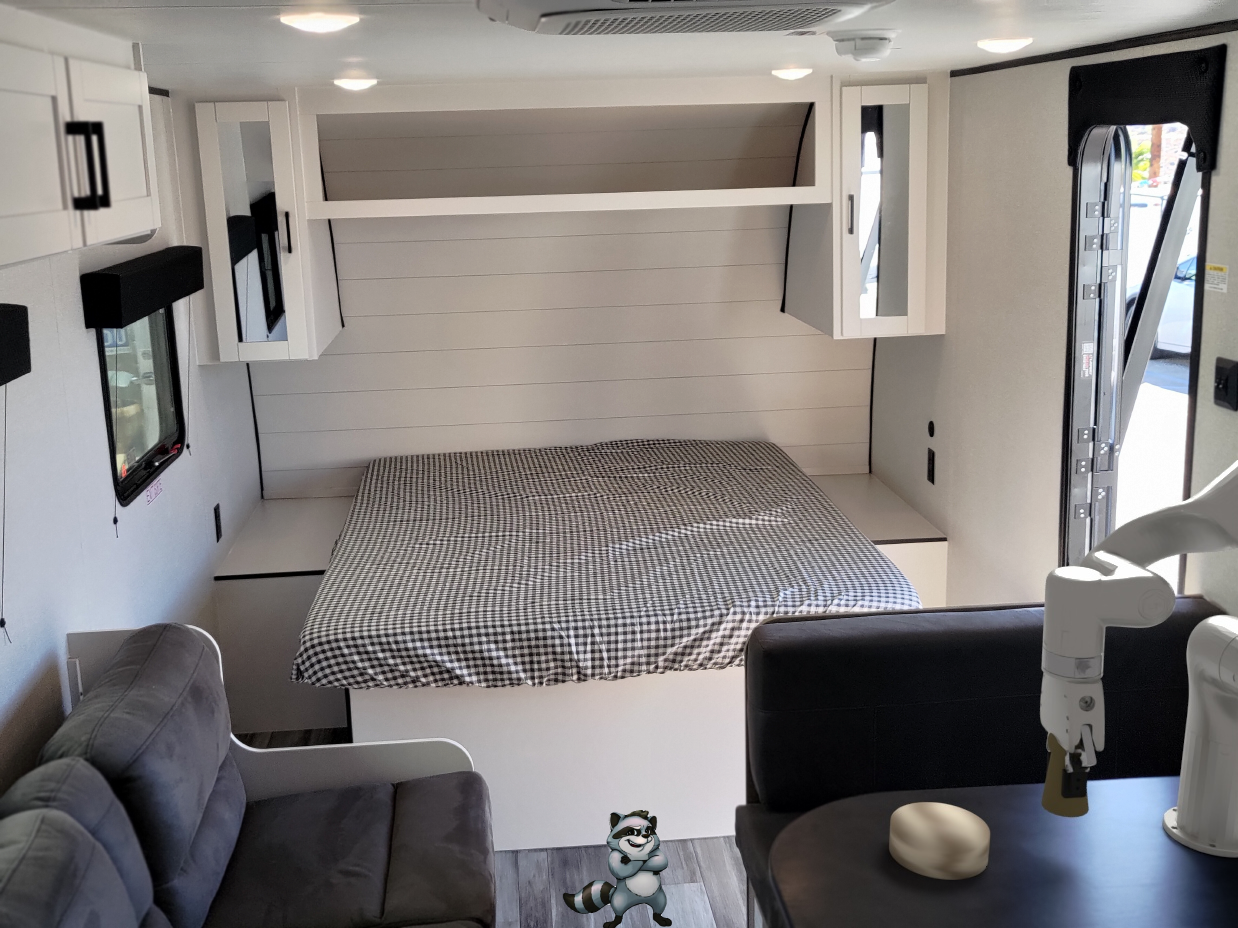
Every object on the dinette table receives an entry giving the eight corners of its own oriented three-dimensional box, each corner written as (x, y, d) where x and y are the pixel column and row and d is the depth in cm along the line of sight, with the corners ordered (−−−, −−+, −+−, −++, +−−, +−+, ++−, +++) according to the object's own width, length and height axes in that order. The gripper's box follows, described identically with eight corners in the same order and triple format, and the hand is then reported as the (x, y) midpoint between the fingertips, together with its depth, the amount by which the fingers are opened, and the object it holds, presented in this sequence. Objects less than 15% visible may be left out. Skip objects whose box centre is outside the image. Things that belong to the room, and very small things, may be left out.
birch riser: (968, 826, 163) (970, 800, 163) (1002, 878, 151) (1005, 850, 150) (877, 828, 163) (879, 802, 162) (904, 880, 150) (906, 852, 149)
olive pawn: (1081, 795, 159) (1085, 721, 157) (1094, 817, 153) (1099, 741, 151) (1036, 794, 160) (1039, 720, 157) (1047, 816, 154) (1051, 740, 151)
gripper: (1131, 684, 144) (1122, 817, 148) (1072, 636, 160) (1066, 757, 164) (1072, 687, 144) (1065, 821, 148) (1019, 639, 160) (1014, 760, 164)
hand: (1065, 786), depth 156 cm, fingers closed on olive pawn, 4 cm apart
